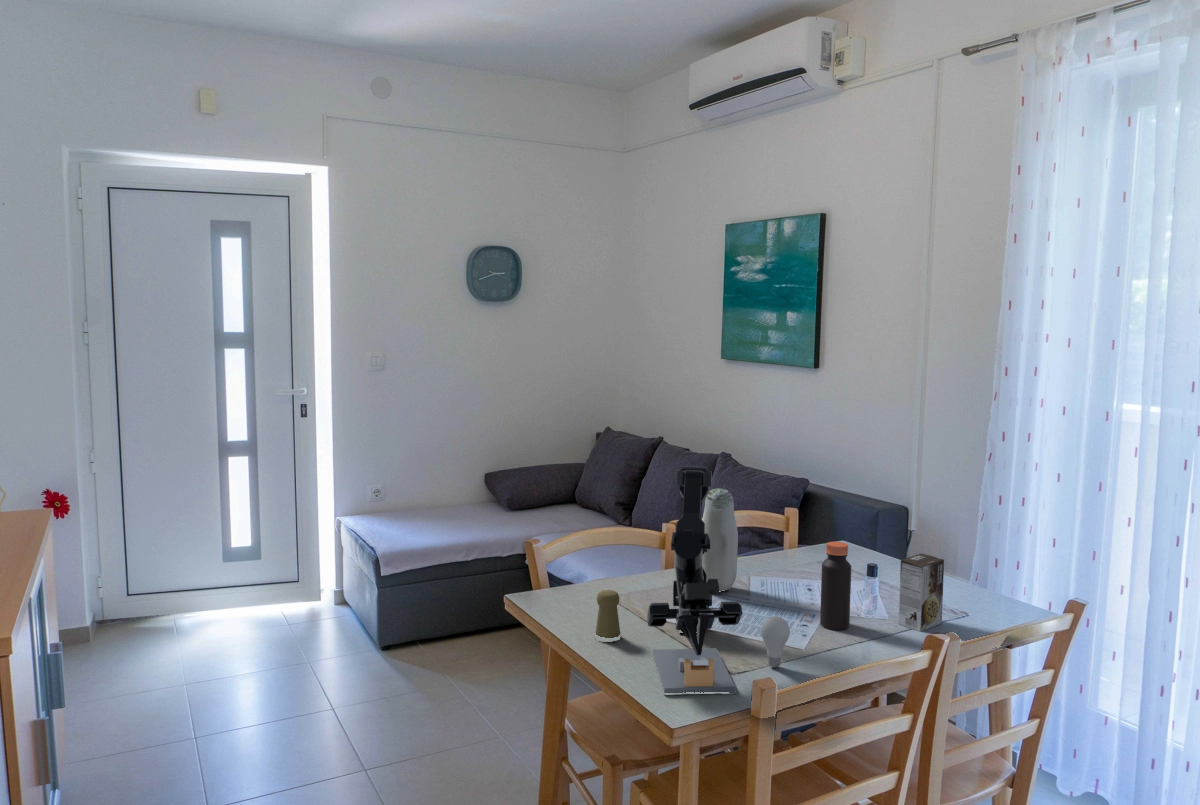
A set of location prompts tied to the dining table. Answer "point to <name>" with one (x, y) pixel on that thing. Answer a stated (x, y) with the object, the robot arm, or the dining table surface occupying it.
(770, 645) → the lightbulb
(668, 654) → the base plate
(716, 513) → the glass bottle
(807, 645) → the dining table surface
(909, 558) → the coffee box
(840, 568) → the black water bottle
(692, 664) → the bar
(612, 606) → the cork
